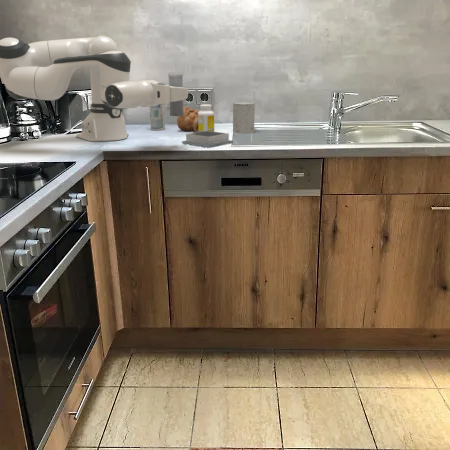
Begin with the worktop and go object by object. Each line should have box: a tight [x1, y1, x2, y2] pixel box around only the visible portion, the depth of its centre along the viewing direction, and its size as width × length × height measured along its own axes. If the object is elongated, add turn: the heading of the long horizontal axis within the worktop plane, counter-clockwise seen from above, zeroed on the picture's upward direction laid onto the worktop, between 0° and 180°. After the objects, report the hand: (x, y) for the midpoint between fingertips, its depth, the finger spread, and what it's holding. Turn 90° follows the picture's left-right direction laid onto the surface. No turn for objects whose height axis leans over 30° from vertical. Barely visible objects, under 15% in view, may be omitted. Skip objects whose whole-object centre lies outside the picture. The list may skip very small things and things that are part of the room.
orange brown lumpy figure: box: [176, 106, 200, 133], centre depth 219 cm, size 19×11×15 cm
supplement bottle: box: [198, 103, 215, 132], centre depth 206 cm, size 7×7×13 cm
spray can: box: [149, 104, 166, 132], centre depth 223 cm, size 6×6×20 cm
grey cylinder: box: [232, 101, 256, 134], centre depth 219 cm, size 10×10×12 cm
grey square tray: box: [181, 130, 234, 149], centre depth 192 cm, size 14×14×4 cm
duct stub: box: [167, 71, 184, 117], centre depth 181 cm, size 5×5×15 cm
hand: (179, 91), depth 182 cm, fingers closed on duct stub, 5 cm apart
